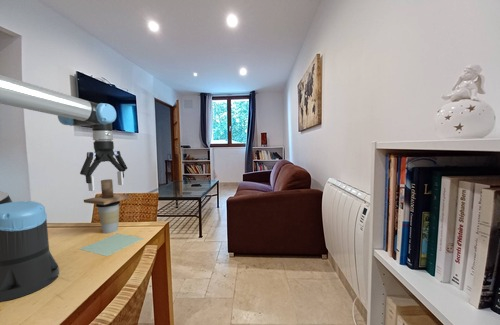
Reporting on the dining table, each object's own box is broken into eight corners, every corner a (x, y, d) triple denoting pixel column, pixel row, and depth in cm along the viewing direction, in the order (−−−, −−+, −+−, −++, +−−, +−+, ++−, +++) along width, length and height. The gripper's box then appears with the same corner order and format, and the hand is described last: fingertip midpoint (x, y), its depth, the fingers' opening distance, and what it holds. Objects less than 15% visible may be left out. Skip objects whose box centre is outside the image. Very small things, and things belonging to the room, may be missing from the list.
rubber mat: (107, 257, 80) (107, 256, 80) (78, 250, 86) (78, 249, 86) (144, 239, 94) (144, 238, 94) (117, 234, 100) (117, 233, 100)
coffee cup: (114, 235, 99) (111, 202, 98) (93, 236, 99) (90, 202, 98) (126, 227, 108) (124, 197, 107) (107, 228, 108) (104, 197, 107)
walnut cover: (103, 204, 94) (102, 183, 93) (83, 202, 99) (82, 181, 98) (130, 197, 106) (129, 178, 105) (111, 195, 111) (110, 177, 110)
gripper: (78, 140, 87) (83, 194, 89) (133, 140, 110) (136, 183, 112) (66, 140, 90) (71, 192, 92) (122, 141, 113) (125, 182, 115)
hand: (107, 187), depth 102 cm, fingers open, 13 cm apart
